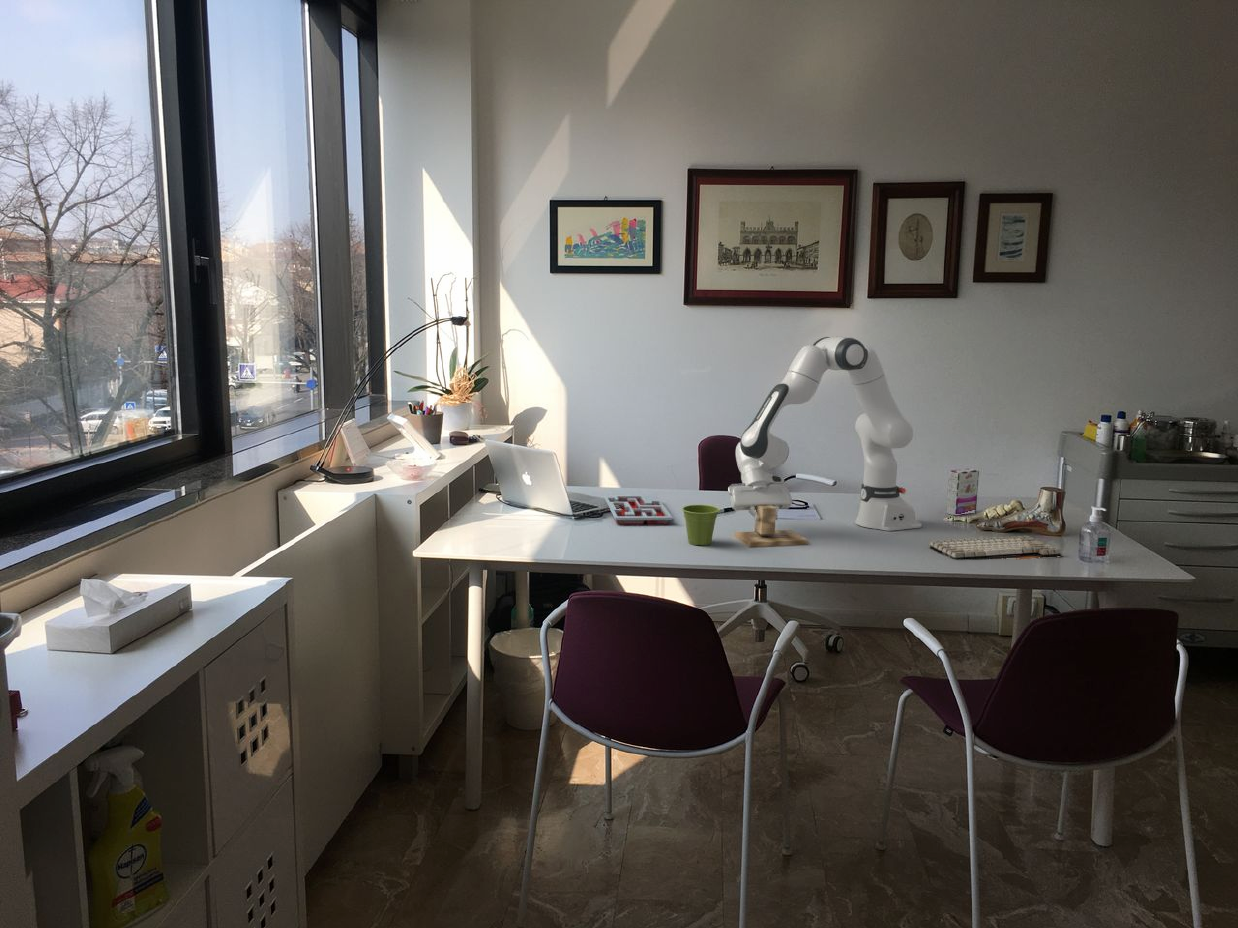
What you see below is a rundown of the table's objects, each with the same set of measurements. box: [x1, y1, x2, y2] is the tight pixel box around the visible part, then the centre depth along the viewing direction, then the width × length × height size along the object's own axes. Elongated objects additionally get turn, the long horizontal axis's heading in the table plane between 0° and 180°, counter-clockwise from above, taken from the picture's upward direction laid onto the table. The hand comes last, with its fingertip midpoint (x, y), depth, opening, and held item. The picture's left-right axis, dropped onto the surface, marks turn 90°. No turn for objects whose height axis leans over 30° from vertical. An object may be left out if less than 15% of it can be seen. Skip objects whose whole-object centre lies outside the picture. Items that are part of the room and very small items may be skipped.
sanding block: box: [754, 505, 777, 536], centre depth 312 cm, size 5×5×9 cm
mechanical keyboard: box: [929, 535, 1063, 561], centre depth 307 cm, size 38×19×3 cm, turn 105°
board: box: [733, 529, 809, 548], centre depth 313 cm, size 20×13×2 cm, turn 105°
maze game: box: [603, 494, 674, 526], centre depth 345 cm, size 35×20×3 cm, turn 7°
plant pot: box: [681, 504, 720, 546], centre depth 307 cm, size 12×12×11 cm
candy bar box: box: [945, 467, 980, 514], centre depth 358 cm, size 11×5×16 cm, turn 120°
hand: (766, 519), depth 311 cm, fingers closed on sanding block, 5 cm apart
